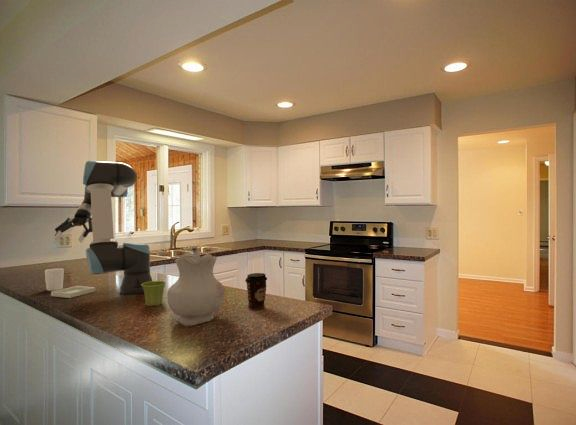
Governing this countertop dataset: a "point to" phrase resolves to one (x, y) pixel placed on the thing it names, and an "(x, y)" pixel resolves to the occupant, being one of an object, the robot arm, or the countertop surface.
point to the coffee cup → (256, 290)
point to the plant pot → (153, 292)
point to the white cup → (54, 278)
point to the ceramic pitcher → (195, 289)
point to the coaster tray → (73, 291)
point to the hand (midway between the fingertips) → (67, 241)
